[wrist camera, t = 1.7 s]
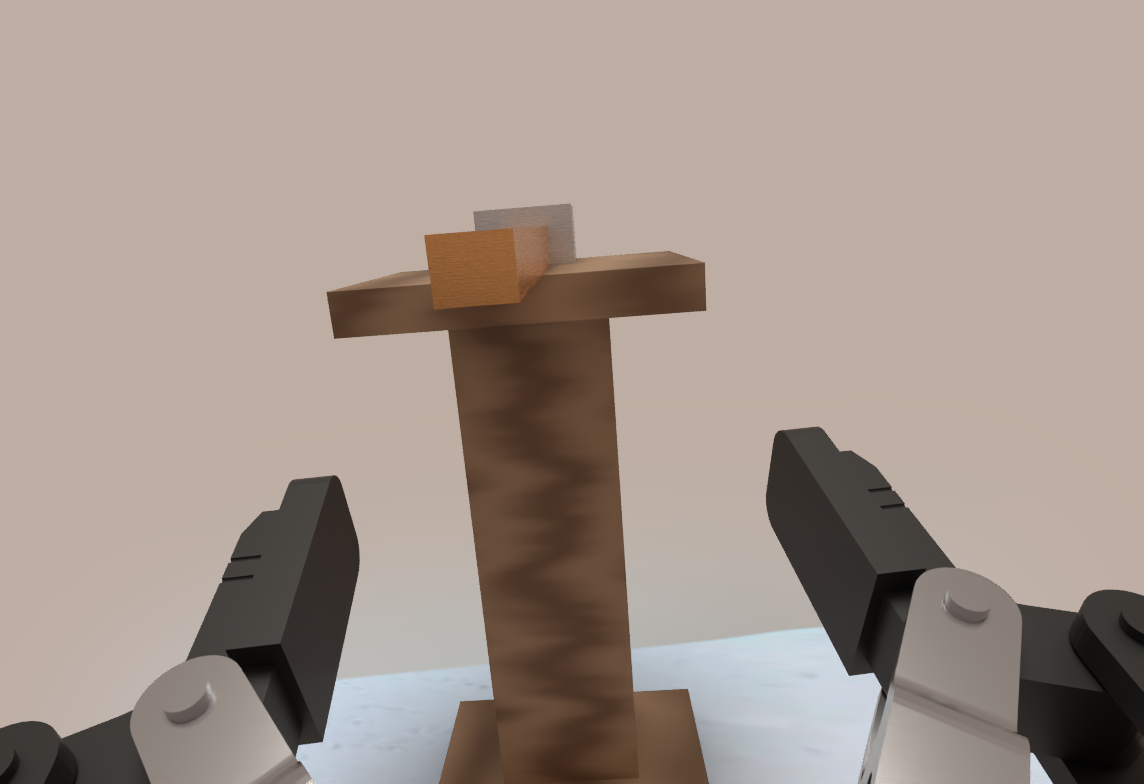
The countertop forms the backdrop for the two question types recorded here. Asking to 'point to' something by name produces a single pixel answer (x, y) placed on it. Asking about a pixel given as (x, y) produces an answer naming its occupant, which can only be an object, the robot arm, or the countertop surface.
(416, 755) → the countertop surface
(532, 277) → the wooden handled hammer
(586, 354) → the wooden pedestal
